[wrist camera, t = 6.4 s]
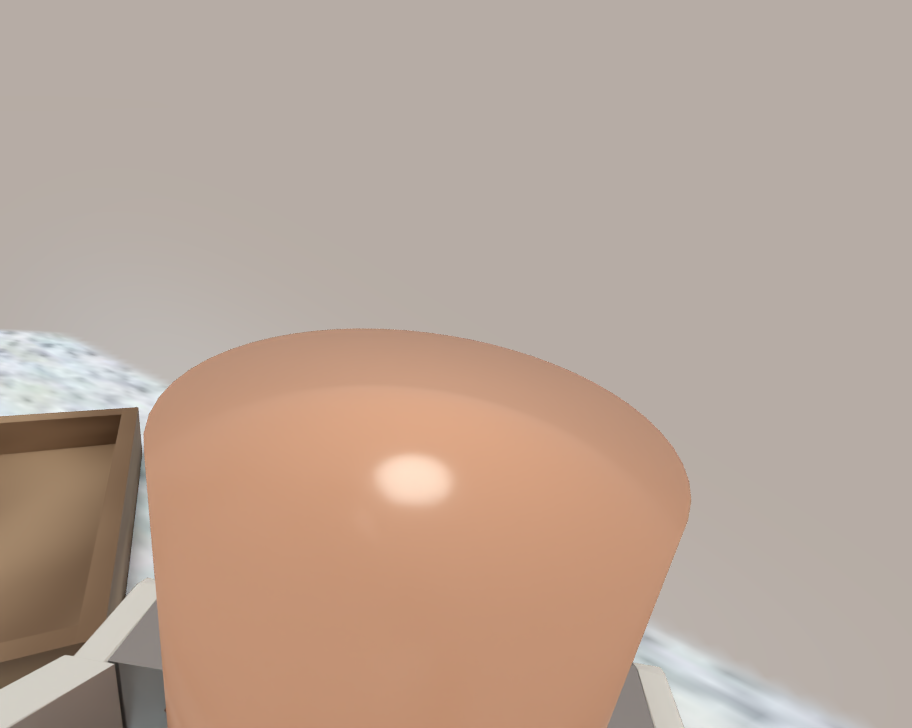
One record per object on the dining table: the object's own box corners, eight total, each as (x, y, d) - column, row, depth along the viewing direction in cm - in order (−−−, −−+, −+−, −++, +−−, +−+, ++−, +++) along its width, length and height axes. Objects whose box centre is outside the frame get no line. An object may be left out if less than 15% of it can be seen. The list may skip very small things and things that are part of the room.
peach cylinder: (194, 1332, 7) (104, 765, 2) (188, 805, 12) (156, 329, 8) (565, 1017, 10) (817, 517, 5) (431, 707, 15) (506, 327, 11)
